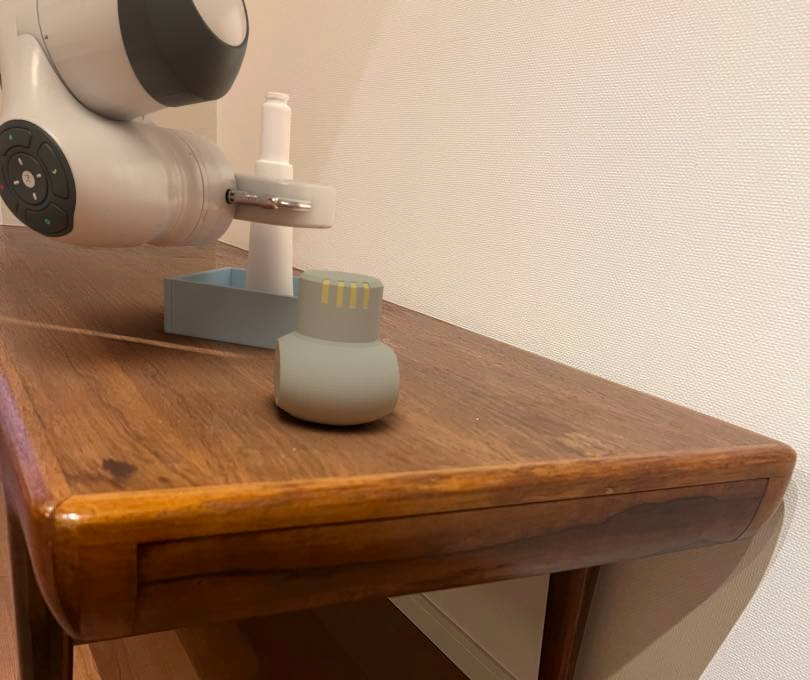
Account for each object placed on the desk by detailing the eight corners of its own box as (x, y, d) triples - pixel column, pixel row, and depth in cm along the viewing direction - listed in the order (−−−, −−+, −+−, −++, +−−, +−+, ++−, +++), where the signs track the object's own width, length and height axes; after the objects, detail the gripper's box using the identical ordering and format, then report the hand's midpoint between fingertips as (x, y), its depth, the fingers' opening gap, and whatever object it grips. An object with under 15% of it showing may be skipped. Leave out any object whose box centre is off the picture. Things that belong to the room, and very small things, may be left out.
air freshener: (399, 441, 54) (417, 293, 50) (279, 436, 52) (287, 280, 48) (373, 399, 64) (386, 271, 60) (271, 393, 62) (277, 261, 58)
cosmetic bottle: (251, 337, 78) (259, 86, 69) (229, 325, 83) (234, 88, 74) (306, 337, 81) (320, 98, 72) (282, 326, 86) (293, 99, 77)
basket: (164, 337, 76) (163, 278, 74) (226, 317, 90) (227, 266, 88) (317, 361, 74) (321, 301, 72) (356, 337, 88) (361, 285, 86)
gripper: (291, 161, 60) (369, 173, 72) (86, 135, 67) (188, 150, 79) (287, 247, 63) (363, 245, 75) (89, 214, 69) (188, 217, 81)
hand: (272, 196), depth 77 cm, fingers open, 8 cm apart
